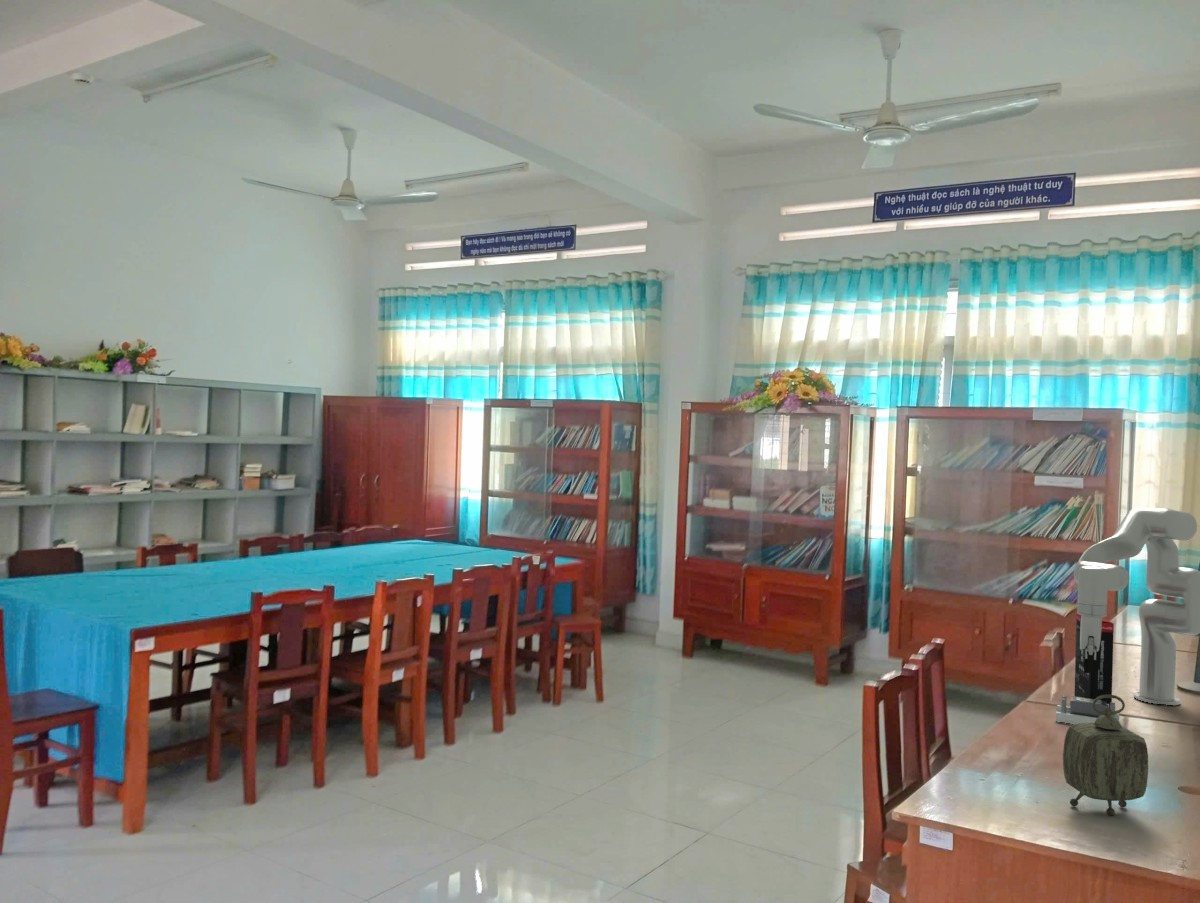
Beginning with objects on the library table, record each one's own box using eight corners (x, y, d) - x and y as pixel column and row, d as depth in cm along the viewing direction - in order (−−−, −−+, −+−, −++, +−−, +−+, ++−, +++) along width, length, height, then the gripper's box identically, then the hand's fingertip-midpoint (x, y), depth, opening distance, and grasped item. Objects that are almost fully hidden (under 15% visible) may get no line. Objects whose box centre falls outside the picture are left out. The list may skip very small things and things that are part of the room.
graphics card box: (1113, 713, 285) (1116, 621, 284) (1087, 711, 286) (1091, 620, 286) (1095, 698, 301) (1098, 612, 301) (1071, 696, 303) (1075, 610, 303)
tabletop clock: (1126, 804, 210) (1130, 690, 210) (1151, 821, 201) (1156, 701, 201) (1060, 803, 210) (1065, 688, 209) (1083, 819, 201) (1088, 700, 200)
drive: (1071, 713, 279) (1071, 695, 279) (1106, 718, 275) (1106, 700, 275) (1069, 717, 275) (1070, 699, 274) (1105, 723, 270) (1106, 704, 270)
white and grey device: (1057, 712, 283) (1057, 692, 283) (1118, 721, 276) (1119, 700, 276) (1055, 721, 273) (1056, 700, 273) (1119, 731, 266) (1120, 709, 266)
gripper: (1077, 603, 284) (1076, 661, 284) (1076, 613, 268) (1075, 674, 269) (1106, 606, 280) (1105, 664, 281) (1107, 616, 265) (1105, 678, 265)
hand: (1090, 669), depth 275 cm, fingers open, 9 cm apart
